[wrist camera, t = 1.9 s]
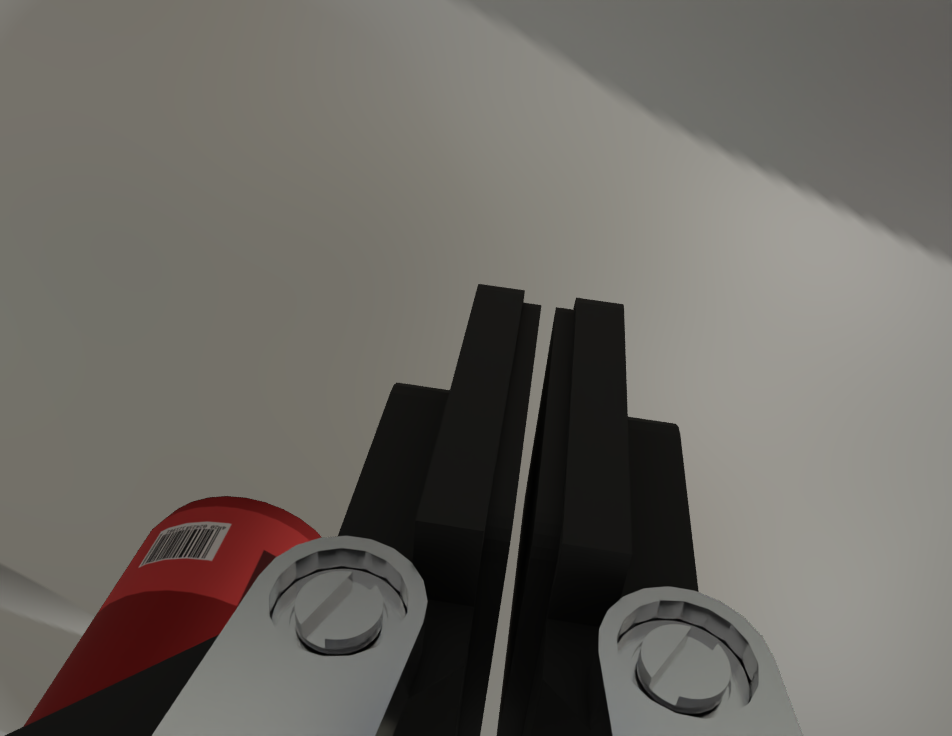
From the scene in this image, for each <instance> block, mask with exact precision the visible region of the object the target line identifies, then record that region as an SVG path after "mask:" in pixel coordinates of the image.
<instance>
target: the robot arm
mask: <svg viewBox="0 0 952 736" xmlns="http://www.w3.org/2000/svg"><path fill="white" fill-rule="evenodd" d="M524 292H525V291H524V290H518V289H511V288H504V287H496V286H489V285H482V284H478V287H477V291H476V295H475V298H474V302H473V306H472V310H471V313H470V317H469V321H468V325H467V329H466V332H465V336H464V340H463V344H462V347H461V351H460V355H459V359H458V362H457V366H456V370H455V374H454V377H453V381H452V385H451V389H450V390H444V389H437V388H429V387H423V386H417V385H410V384H402V383H396V384H394V386H393V388H392V390H391V392H390V395H389V398H388V401H387V403H386V406H385V409H384V412H383V414H382V417H381V420H380V423H379V425H378V428H377V431H376V434H375V436H374V439H373V442H372V444H371V447H370V450H369V452H368V455H367V458H366V461H365V464H364V467H363V469H362V472H361V474H360V477H359V480H358V483H357V485H356V488H355V491H354V493H353V496H352V499H351V502H350V504H349V507H348V510H347V513H346V515H345V518H344V521H343V523H342V526H341V529H340V532H339V535H338V536H335V537H321V538H318V539H315V540H311V541H308V542H305V543H302V544H298V545H296V546H294V547H292V548H291V549H289V550H288V551H286V552H284V553H283V554H281V555H279V556H278V557H276V558H275V559H274V560H273V561H272V562H271V563H270V564H269V565H268V566H267V567H266V568H265V569H264V570H263V571H262V573H261V574H260V575H259V576H258V577H257V579H256V580H255V582H254V583H253V585H252V586H251V588H250V589H249V591H248V592H247V594H246V595H245V597H244V598H243V600H242V601H241V603H240V604H239V606H238V607H237V609H236V610H235V612H234V613H233V615H232V616H231V618H230V619H229V621H228V622H227V624H226V625H225V627H224V628H223V630H222V631H221V633H220V634H219V635H217V636H215V637H213V638H210V639H208V640H206V641H204V642H202V643H200V644H198V645H196V646H193V647H191V648H189V649H187V650H185V651H183V652H181V653H179V654H177V655H174V656H172V657H170V658H168V659H166V660H164V661H162V662H160V663H158V664H155V665H153V666H151V667H149V668H147V669H145V670H143V671H141V672H138V673H136V674H134V675H132V676H130V677H128V678H126V679H124V680H122V681H119V682H117V683H115V684H113V685H111V686H109V687H107V688H105V689H103V690H100V691H98V692H96V693H94V694H92V695H90V696H88V697H86V698H83V699H81V700H79V701H77V702H75V703H73V704H71V705H69V706H67V707H64V708H62V709H60V710H58V711H56V712H54V713H52V714H50V715H48V716H45V717H43V718H41V719H39V720H37V721H35V722H33V723H31V724H28V725H26V726H24V727H22V728H20V729H18V730H16V731H14V732H12V733H9V734H7V735H5V736H480V732H481V726H482V719H483V713H484V707H485V701H486V694H487V688H488V681H489V675H490V669H491V662H492V656H493V650H494V643H495V637H496V630H497V623H498V618H499V611H500V605H501V599H502V592H503V586H504V580H505V573H506V567H507V560H508V554H509V547H510V540H511V533H512V526H513V519H514V511H515V504H516V496H517V488H518V481H519V473H520V465H521V457H522V450H523V442H524V434H525V427H526V419H527V412H528V403H529V396H530V388H531V381H532V373H533V365H534V358H535V350H536V342H537V335H538V326H539V319H540V311H541V305H535V304H529V303H523V299H524ZM624 326H625V325H624V305H623V304H617V303H610V302H603V301H595V300H588V299H582V298H576V300H575V304H574V310H571V309H564V308H557V307H556V311H555V316H554V322H553V328H552V334H551V340H550V346H549V353H548V359H547V365H546V371H545V378H544V383H543V389H542V395H541V401H540V408H539V414H538V420H537V426H536V432H535V438H534V445H533V450H532V456H531V463H530V469H529V475H528V481H527V487H526V494H525V501H524V508H523V517H522V525H521V534H520V543H519V551H518V559H517V568H516V576H515V585H514V593H513V602H512V611H511V619H510V627H509V636H508V644H507V653H506V661H505V669H504V679H503V686H502V696H501V704H500V712H499V720H498V729H497V736H803V734H802V731H801V728H800V726H799V723H798V720H797V717H796V715H795V712H794V709H793V707H792V704H791V701H790V698H789V696H788V693H787V690H786V688H785V685H784V682H783V679H782V677H781V674H780V671H779V669H778V666H777V663H776V661H775V658H774V656H773V654H772V653H771V651H770V649H769V647H768V646H767V644H766V642H765V640H764V638H763V636H762V635H760V633H759V632H758V631H757V630H756V629H755V628H754V627H753V626H752V625H751V624H750V623H749V622H748V620H747V619H746V618H744V616H742V615H741V614H739V613H738V612H736V611H735V610H733V609H732V608H730V607H729V606H727V605H726V604H724V603H723V602H721V601H719V600H717V599H714V598H712V597H709V596H707V595H704V594H702V593H699V592H698V584H697V575H696V567H695V558H694V550H693V540H692V532H691V523H690V515H689V506H688V498H687V489H686V480H685V471H684V463H683V455H682V446H681V437H680V432H679V427H678V426H677V425H676V424H673V423H667V422H660V421H653V420H646V419H640V418H633V417H628V414H627V384H626V356H625V327H624Z"/></svg>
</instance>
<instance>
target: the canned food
mask: <svg viewBox="0 0 952 736" xmlns="http://www.w3.org/2000/svg"><path fill="white" fill-rule="evenodd" d="M318 538H321V536H320V535H319V534H318V533H317V532H316V531H315V530H314V529H313V528H312V527H310V526H309V525H308V524H306V523H305V522H304V521H303V520H301V519H300V518H298V517H296V516H294V515H293V514H291V513H289V512H287V511H285V510H284V509H281V508H279V507H276V506H273V505H271V504H268V503H266V502H262V501H257V500H253V499H249V498H241V497H230V496H222V497H210V498H205V499H201V500H197V501H193V502H191V503H189V504H187V505H185V506H183V507H181V508H179V509H177V510H176V511H174V512H173V513H172V514H171V515H169V516H168V517H167V518H166V519H164V520H163V521H162V522H161V523H160V524H158V525H157V526H156V527H155V528H153V529H152V531H151V532H150V534H149V535H148V537H147V538H146V540H145V541H144V543H143V544H142V546H141V547H140V549H139V550H138V552H137V553H136V555H135V556H134V558H133V560H132V561H131V563H130V564H129V566H128V567H127V569H126V570H125V572H124V573H123V575H122V577H121V578H120V579H119V581H118V582H117V584H116V586H115V587H114V589H113V590H112V592H111V593H110V595H109V596H108V598H107V599H106V601H105V602H104V604H103V605H102V607H101V609H100V610H99V612H98V613H97V615H96V616H95V618H94V619H93V621H92V622H91V624H90V625H89V627H88V628H87V630H86V631H85V633H84V635H83V636H82V638H81V639H80V641H79V642H78V644H77V645H76V647H75V648H74V650H73V651H72V653H71V654H70V656H69V658H68V659H67V661H66V662H65V664H64V666H63V667H62V668H61V670H60V671H59V673H58V674H57V676H56V678H55V679H54V681H53V682H52V684H51V685H50V687H49V688H48V690H47V691H46V693H45V694H44V696H43V698H42V699H41V700H40V702H39V703H38V705H37V707H36V708H35V710H34V711H33V713H32V714H31V716H30V717H29V719H28V720H27V722H26V724H25V725H24V726H26V725H28V724H31V723H33V722H35V721H37V720H39V719H41V718H43V717H45V716H48V715H50V714H52V713H54V712H56V711H58V710H60V709H62V708H64V707H67V706H69V705H71V704H73V703H75V702H77V701H79V700H81V699H83V698H86V697H88V696H90V695H92V694H94V693H96V692H98V691H100V690H103V689H105V688H107V687H109V686H111V685H113V684H115V683H117V682H119V681H122V680H124V679H126V678H128V677H130V676H132V675H134V674H136V673H138V672H141V671H143V670H145V669H147V668H149V667H151V666H153V665H155V664H158V663H160V662H162V661H164V660H166V659H168V658H170V657H172V656H174V655H177V654H179V653H181V652H183V651H185V650H187V649H189V648H191V647H193V646H196V645H198V644H200V643H202V642H204V641H206V640H208V639H210V638H213V637H215V636H217V635H219V634H220V633H221V631H222V630H223V628H224V627H225V625H226V624H227V622H228V621H229V619H230V618H231V616H232V615H233V613H234V612H235V610H236V609H237V607H238V606H239V604H240V603H241V601H242V600H243V598H244V597H245V595H246V594H247V592H248V591H249V589H250V588H251V586H252V585H253V583H254V582H255V580H256V579H257V577H258V576H259V575H260V574H261V573H262V571H263V570H264V569H265V568H266V567H267V566H268V565H269V564H270V563H271V562H272V561H273V560H274V559H275V558H276V557H278V556H279V555H281V554H283V553H284V552H286V551H288V550H289V549H291V548H292V547H294V546H296V545H298V544H302V543H305V542H308V541H311V540H315V539H318Z"/></svg>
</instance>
